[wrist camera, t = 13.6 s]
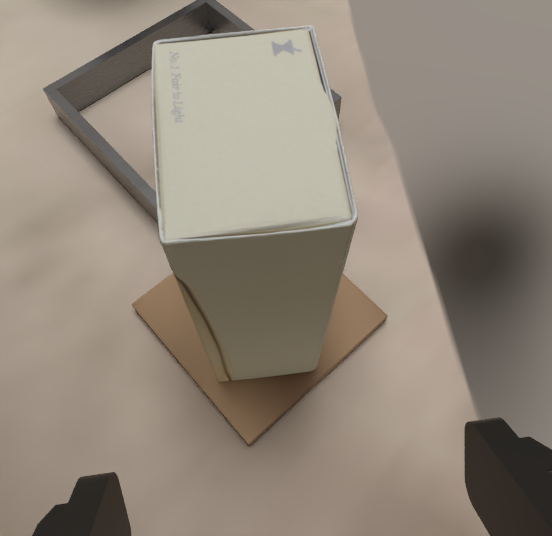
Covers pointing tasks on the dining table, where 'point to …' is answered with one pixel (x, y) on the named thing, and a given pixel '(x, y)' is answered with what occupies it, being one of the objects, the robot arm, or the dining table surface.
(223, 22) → the metal square frame
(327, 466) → the dining table surface
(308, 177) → the skincare box
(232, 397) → the coaster
